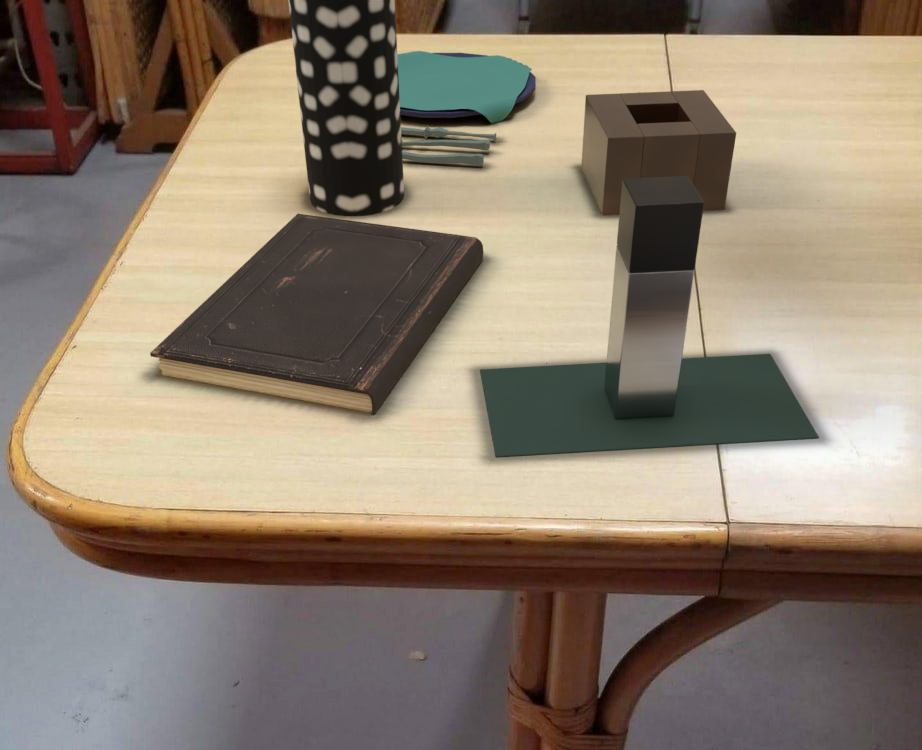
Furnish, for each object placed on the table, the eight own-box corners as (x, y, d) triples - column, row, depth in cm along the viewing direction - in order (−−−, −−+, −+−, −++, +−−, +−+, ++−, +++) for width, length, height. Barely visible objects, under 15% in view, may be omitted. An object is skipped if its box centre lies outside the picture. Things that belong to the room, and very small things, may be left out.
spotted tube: (291, 202, 95) (260, -52, 82) (362, 175, 99) (343, -69, 86) (352, 230, 90) (330, -34, 77) (423, 200, 95) (414, -54, 82)
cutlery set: (548, 75, 120) (549, 53, 119) (502, 178, 98) (502, 153, 97) (377, 65, 124) (376, 44, 122) (295, 163, 101) (292, 139, 100)
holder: (693, 167, 100) (703, 89, 95) (723, 215, 92) (736, 132, 87) (580, 172, 99) (585, 94, 94) (601, 220, 91) (608, 138, 86)
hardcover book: (156, 381, 73) (149, 352, 71) (300, 239, 89) (297, 212, 87) (375, 421, 69) (373, 391, 67) (483, 265, 85) (483, 237, 83)
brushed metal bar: (660, 384, 70) (687, 175, 61) (674, 416, 68) (704, 202, 58) (603, 387, 70) (622, 178, 61) (614, 419, 67) (635, 205, 58)
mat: (768, 360, 74) (770, 353, 73) (817, 444, 66) (819, 436, 66) (479, 376, 73) (479, 369, 72) (495, 464, 65) (495, 455, 65)
